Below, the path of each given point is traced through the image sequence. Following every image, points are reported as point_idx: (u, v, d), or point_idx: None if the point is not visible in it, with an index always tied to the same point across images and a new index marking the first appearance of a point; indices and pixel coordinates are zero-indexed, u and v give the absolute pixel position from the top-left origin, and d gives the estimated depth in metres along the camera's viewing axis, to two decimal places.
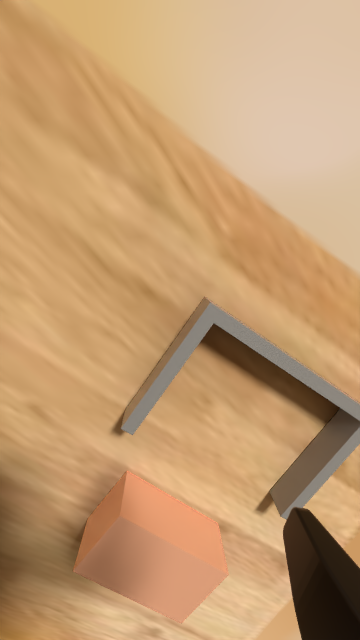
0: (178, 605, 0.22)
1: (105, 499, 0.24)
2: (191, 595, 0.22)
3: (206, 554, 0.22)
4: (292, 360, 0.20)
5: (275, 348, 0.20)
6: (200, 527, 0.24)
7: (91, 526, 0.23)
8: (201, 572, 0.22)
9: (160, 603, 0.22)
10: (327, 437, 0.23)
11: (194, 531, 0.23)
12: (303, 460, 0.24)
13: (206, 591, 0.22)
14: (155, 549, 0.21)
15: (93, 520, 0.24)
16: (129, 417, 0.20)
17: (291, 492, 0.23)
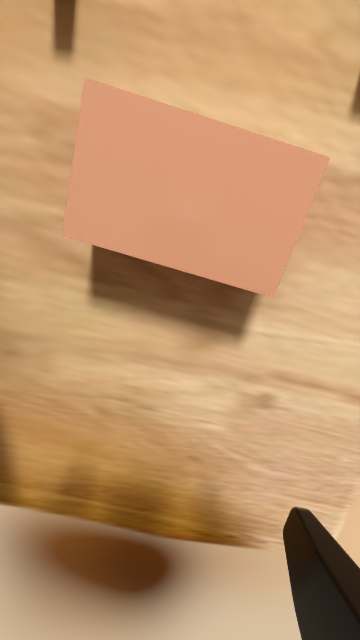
0: (257, 259, 0.13)
1: None
2: (273, 230, 0.12)
3: None
4: None
5: None
6: None
7: None
8: (275, 168, 0.12)
9: (225, 264, 0.13)
10: None
11: None
12: None
13: (298, 212, 0.12)
14: (175, 138, 0.11)
15: None
16: None
17: None
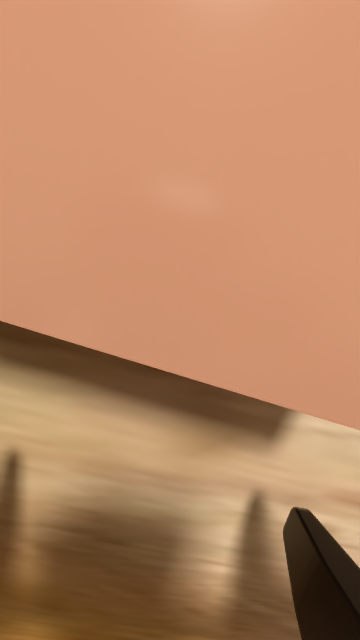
0: None
1: None
2: None
3: None
4: None
5: None
6: None
7: None
8: None
9: (278, 353, 0.04)
10: None
11: None
12: None
13: None
14: None
15: None
16: None
17: None
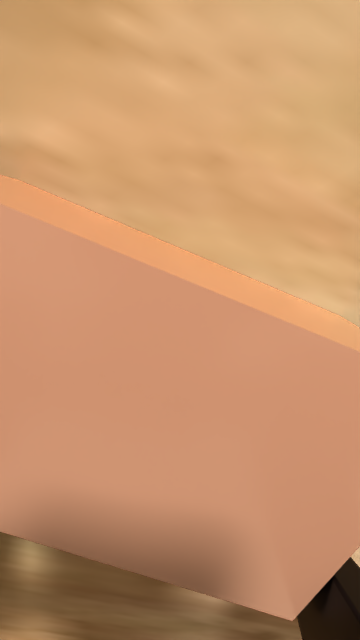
0: (269, 563, 0.06)
1: None
2: (315, 521, 0.05)
3: (346, 338, 0.05)
4: None
5: None
6: (292, 301, 0.07)
7: None
8: (341, 410, 0.04)
9: (196, 562, 0.06)
10: None
11: (270, 296, 0.06)
12: None
13: None
14: (86, 314, 0.04)
15: None
16: None
17: None
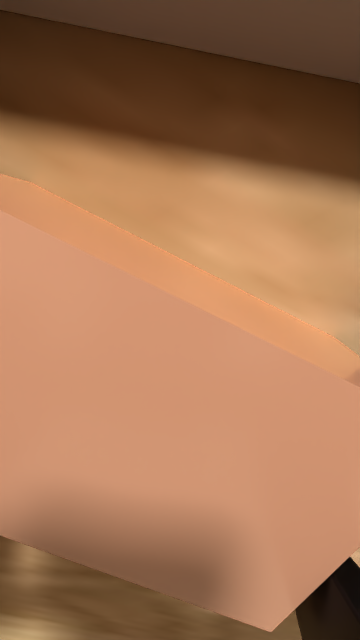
0: (254, 576, 0.06)
1: None
2: (301, 539, 0.05)
3: (342, 369, 0.05)
4: None
5: None
6: (292, 324, 0.07)
7: None
8: (335, 437, 0.05)
9: (183, 571, 0.06)
10: None
11: (272, 320, 0.06)
12: None
13: None
14: (98, 332, 0.04)
15: None
16: None
17: None
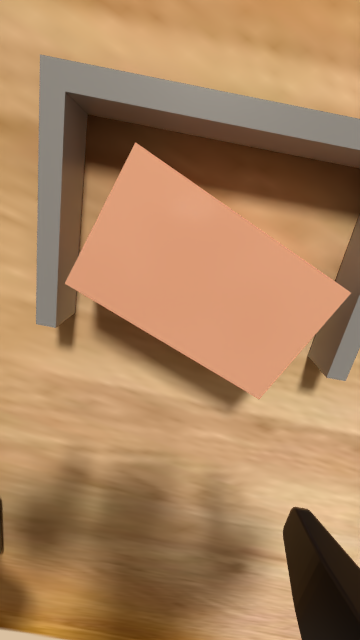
0: (255, 362, 0.13)
1: None
2: (278, 340, 0.12)
3: None
4: (226, 96, 0.11)
5: (186, 86, 0.11)
6: None
7: None
8: (297, 286, 0.11)
9: (223, 356, 0.13)
10: None
11: None
12: None
13: (306, 331, 0.12)
14: (210, 229, 0.11)
15: None
16: (37, 304, 0.14)
17: (333, 338, 0.15)
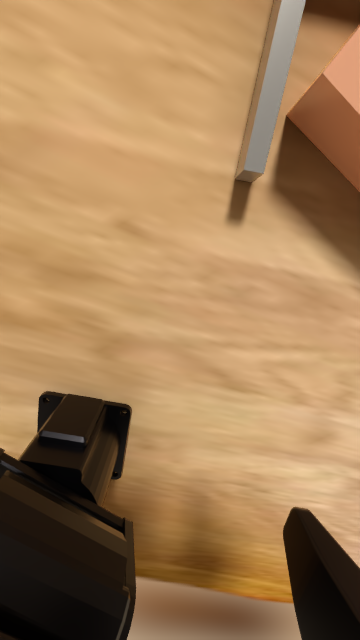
0: None
1: (329, 61, 0.14)
2: None
3: None
4: None
5: None
6: None
7: None
8: None
9: None
10: None
11: None
12: None
13: None
14: None
15: (316, 79, 0.14)
16: (250, 145, 0.14)
17: None
